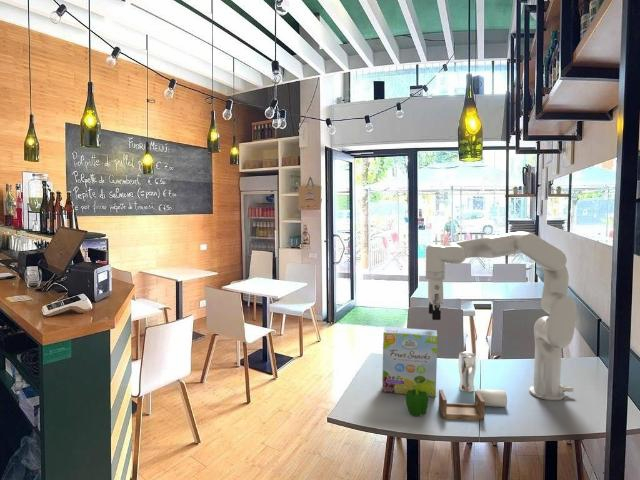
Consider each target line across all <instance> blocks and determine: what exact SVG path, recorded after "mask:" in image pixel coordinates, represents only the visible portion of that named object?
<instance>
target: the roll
mask: <svg viewBox="0 0 640 480" xmlns="http://www.w3.org/2000/svg"><path fill="white" fill-rule="evenodd" d="M475 391H479V393H480V395H481V396H482V398H483V400H484V401H485V407H496V408H498V407H500V408H501V407H502V408H506V407H507V405H508V396H507V392H506V390H504V389H483V388H479V389H477V388H476V390H475Z"/></svg>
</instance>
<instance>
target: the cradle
mask: <svg viewBox="0 0 640 480" xmlns="http://www.w3.org/2000/svg"><path fill="white" fill-rule="evenodd" d="M485 407H486V406H485V401H484V400H483V398H482V396H481V395H480V393H479V391H476V390H474V403H460V402H459V403H456V402H448V401H447V397H446V395H445V393H444V391H443V389H438V408H439V409H438V410H439V412H440V414H441V417H442V419H444V420H460V421H461V420H466V421H485Z"/></svg>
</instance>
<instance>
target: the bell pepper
mask: <svg viewBox="0 0 640 480" xmlns="http://www.w3.org/2000/svg"><path fill="white" fill-rule="evenodd" d="M413 387H415V389H414V390H408V392H407V394H405V404H406V409H407V411H408V412H409V414H410V415H411V416H412V417H413V416H414V417H419V416H424V415H425V414H426V413H427V411H428V407H429V403H430V402H429V400H430V399H429V396H428V395H427V393H426V392H425V391H422V392H421V391H420V390H418V388H417V386H416V385H413Z"/></svg>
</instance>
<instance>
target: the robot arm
mask: <svg viewBox="0 0 640 480" xmlns="http://www.w3.org/2000/svg"><path fill="white" fill-rule="evenodd" d="M425 249H426V250H425V280H428V281H427V283H428V284H427V298H428V314H429V315H431V317H432V318H431V319H432V320H433V321H441V318H442V317H441V312H442V310H441V309H442V308H441V305H443V304H444V284H443V283H444V281H443V280H445V278H446V277H445V275H446V264H450V265H451V264H453V265H458V264H459V265H460V264H462V263H463V262H465V261H466V259H470V258H484V259H493V258H494V259H495V258H499V257H500V258H501V257H505V256H513V255H517V254H522V255H525V257H528V258H530V259H531V260H532V261H533V262H534V263H535V264H536V265H537V266H538V267H540V269H541V271H542V272H543V275H544V276H543V278H544V279H543V287H542V293H541V299H540V306H541V309H542V311H544V312H545V313H546V314H548V315H549V316H546V315H545V316H541V317H539V318H538V319H536V321H535V322H534V325H533V334H534V369H533V370H534V371H533V373H534V374H533V385H531V386H530V387H529V388H528V389H529V393H530V394H531V395H532V396H534V397H536V398H538V399H542V400H546V401H552V402H553V401H554V402H555V401H561V400H563V399H564V398H565V392H568V393H573V392H574V388H573V386H568V385H566V384H561V380H562V379H561V378H562V374H561V373H562V372H561V371H562V355H563V354H562V352H563V351H562V349H564V348H567V347H569V345H570V344H571V343H572V341H573V338H574V333H575V328H576V322H577V316H578V315H577V314H578V307H577V304H576V302H575V300H574V299H573V298H572V297H571V296H568V290H569V289H568V288H569V271H568V268H567V266H566V265H567V259H568V258H567V257H566V254H565V252H564V251H562V250H561V249H559V248H558V247H556V246H554V245H552V244H551V243H550V242H548V241H546V240H544V239H543V238H541V237H540V236H538V235H537V234H534V233H531V232H527V231H515V232H510V233H509V232H508V233H504V234H503V233H502V234H499V235H493V236H487V237H479V238H474V239H468V240H467V239H466V240H461V241H455V242H450V243H447V244H446V245H445V246H444V245H441V244H428V245H426V248H425Z"/></svg>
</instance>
